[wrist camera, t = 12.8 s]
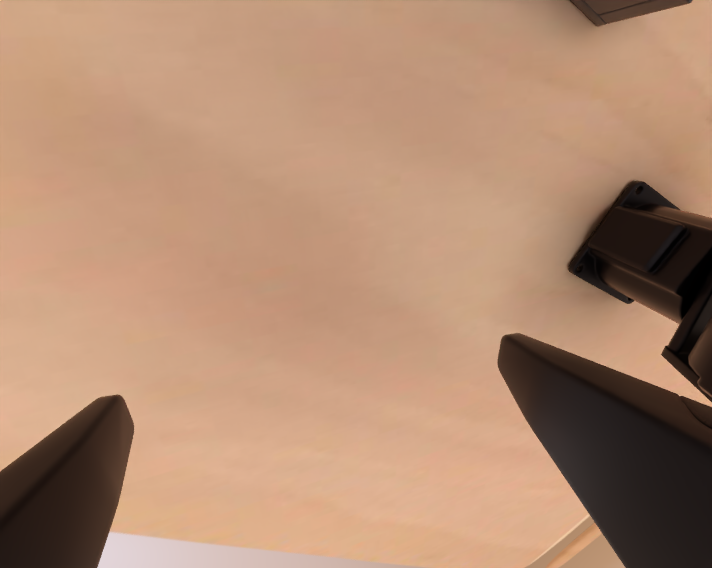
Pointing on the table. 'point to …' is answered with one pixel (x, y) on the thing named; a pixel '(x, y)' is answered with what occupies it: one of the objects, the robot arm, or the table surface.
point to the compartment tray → (622, 8)
